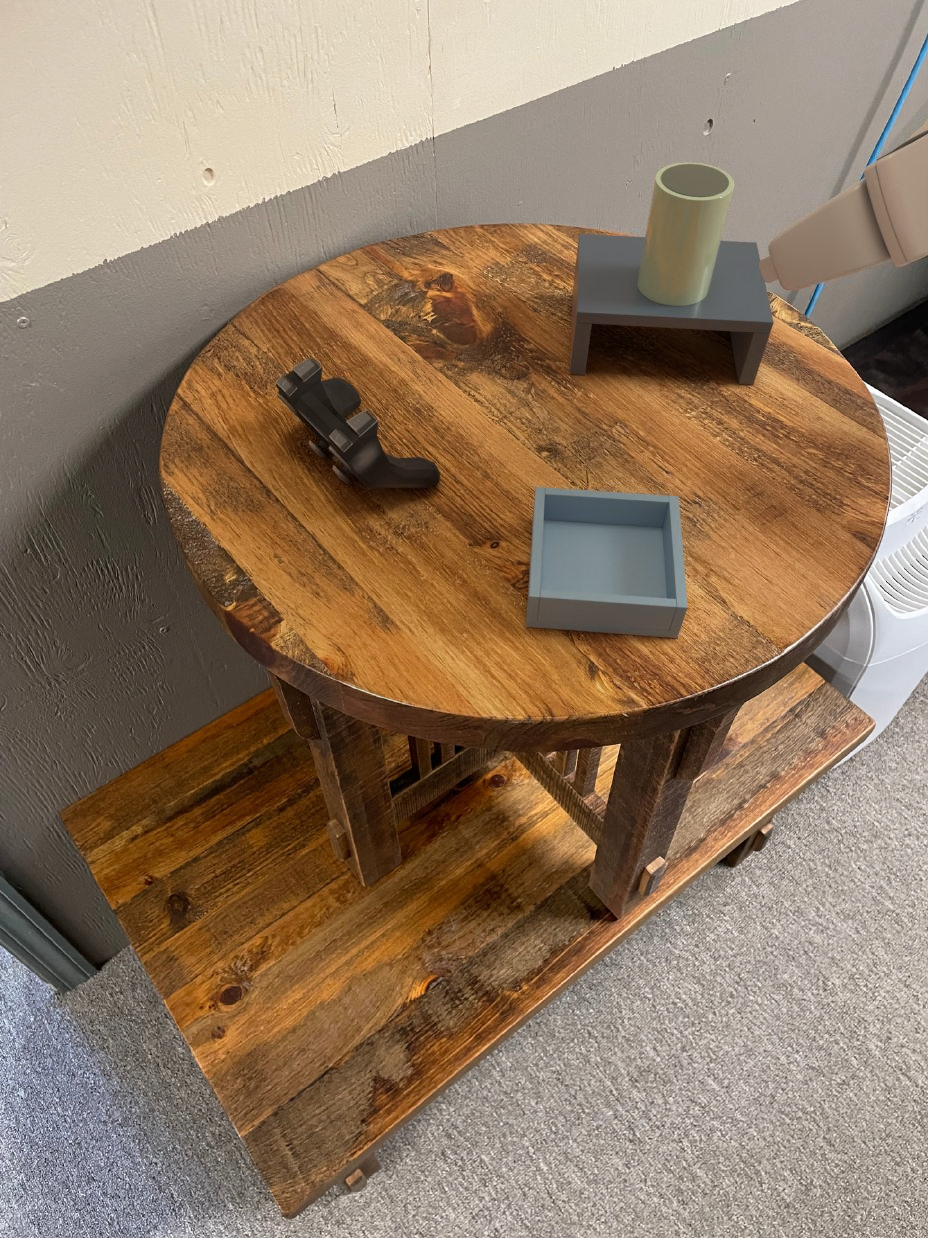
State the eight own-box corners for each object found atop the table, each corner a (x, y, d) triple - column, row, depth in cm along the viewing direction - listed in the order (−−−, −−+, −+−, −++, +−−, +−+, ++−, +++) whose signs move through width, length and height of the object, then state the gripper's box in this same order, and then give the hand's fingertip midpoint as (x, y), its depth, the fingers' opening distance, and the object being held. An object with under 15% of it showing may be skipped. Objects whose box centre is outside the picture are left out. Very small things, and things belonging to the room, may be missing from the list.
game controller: (302, 437, 84) (241, 380, 75) (352, 387, 83) (296, 323, 75) (397, 536, 76) (340, 485, 67) (452, 481, 75) (402, 422, 67)
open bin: (669, 528, 73) (678, 495, 70) (677, 638, 66) (688, 607, 63) (532, 518, 74) (535, 486, 71) (525, 627, 67) (528, 596, 64)
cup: (720, 281, 83) (747, 175, 75) (689, 314, 80) (714, 206, 72) (657, 259, 86) (677, 154, 78) (624, 290, 82) (641, 184, 74)
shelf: (739, 303, 93) (756, 242, 88) (753, 385, 85) (774, 322, 79) (572, 295, 94) (578, 233, 89) (569, 374, 86) (577, 311, 80)
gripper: (1053, 78, 58) (875, 172, 70) (867, 164, 50) (703, 252, 63) (1079, 171, 59) (900, 247, 72) (901, 269, 52) (735, 334, 64)
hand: (807, 250), depth 67 cm, fingers open, 8 cm apart
